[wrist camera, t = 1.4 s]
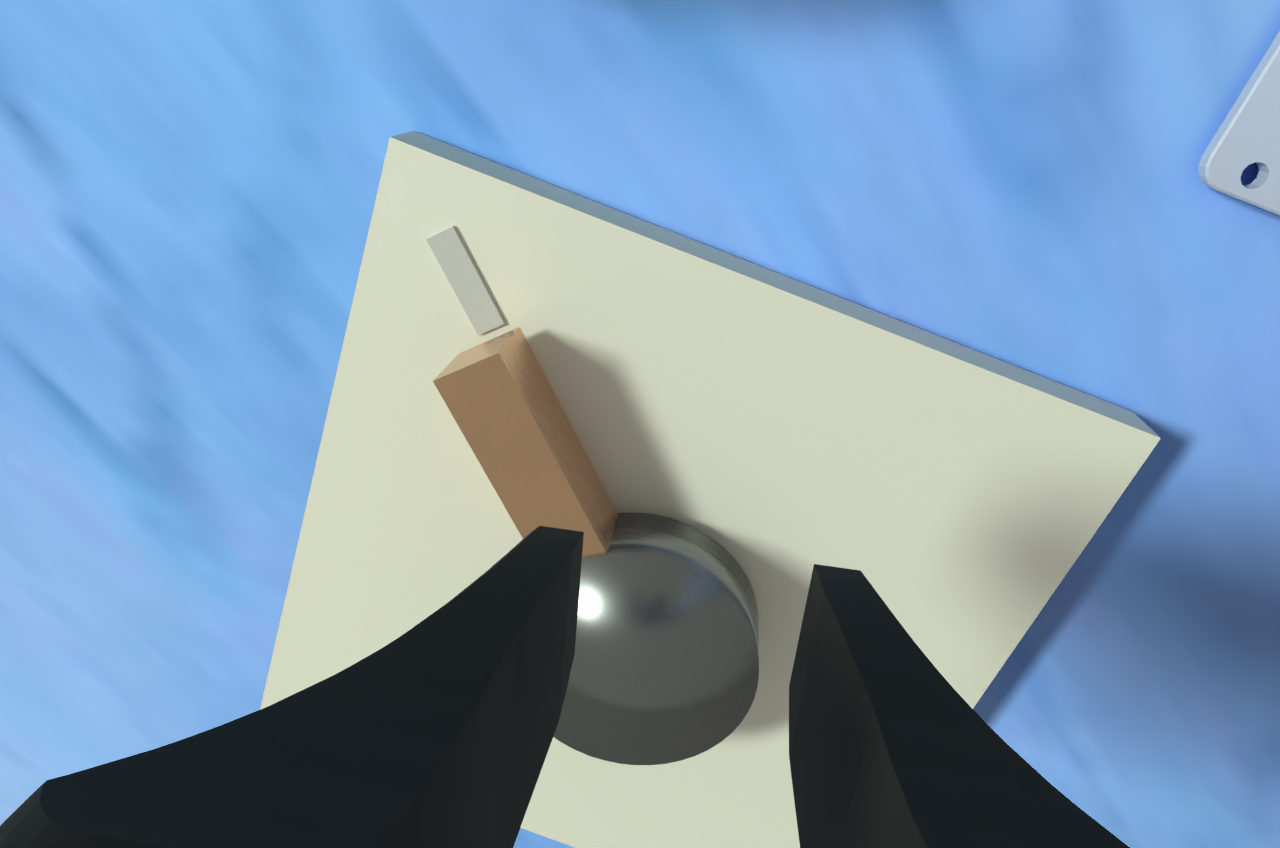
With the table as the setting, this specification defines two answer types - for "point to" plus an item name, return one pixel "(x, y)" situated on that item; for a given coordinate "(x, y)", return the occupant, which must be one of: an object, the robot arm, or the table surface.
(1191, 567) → the table surface
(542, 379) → the twist handle
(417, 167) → the base
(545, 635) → the robot arm
